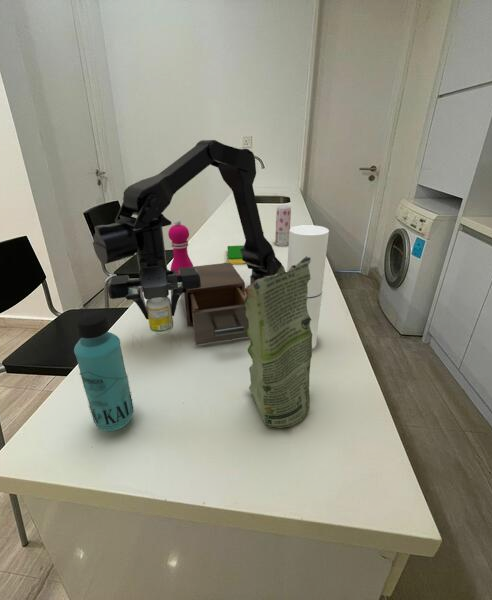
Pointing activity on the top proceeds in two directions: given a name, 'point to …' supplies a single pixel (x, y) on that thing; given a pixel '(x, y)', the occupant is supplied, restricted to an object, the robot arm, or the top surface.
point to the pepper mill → (179, 246)
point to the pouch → (280, 344)
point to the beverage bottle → (103, 372)
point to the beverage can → (282, 225)
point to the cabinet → (212, 283)
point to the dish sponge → (235, 255)
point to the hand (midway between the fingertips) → (160, 317)
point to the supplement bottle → (160, 315)
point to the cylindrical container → (310, 265)
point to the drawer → (218, 315)
